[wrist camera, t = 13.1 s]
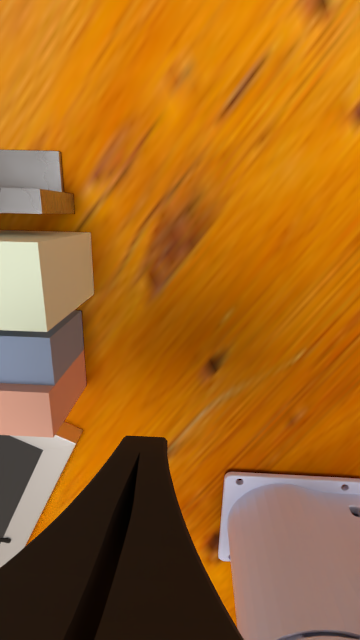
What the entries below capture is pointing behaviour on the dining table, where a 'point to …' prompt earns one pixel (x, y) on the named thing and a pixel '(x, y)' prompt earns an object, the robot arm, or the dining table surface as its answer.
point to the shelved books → (41, 377)
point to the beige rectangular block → (43, 277)
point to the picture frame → (29, 482)
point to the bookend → (33, 183)
